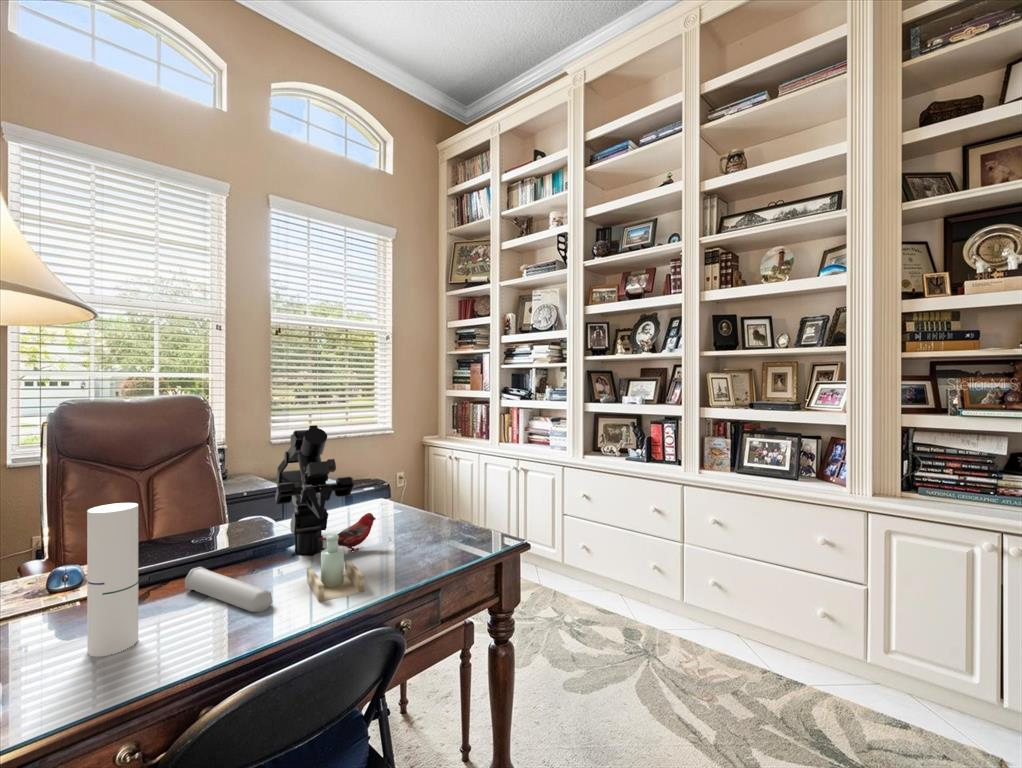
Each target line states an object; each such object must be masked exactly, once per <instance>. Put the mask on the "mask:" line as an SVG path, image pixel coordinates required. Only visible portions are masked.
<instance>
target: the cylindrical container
mask: <svg viewBox="0 0 1022 768" xmlns="http://www.w3.org/2000/svg"><path fill="white" fill-rule="evenodd" d="M86 513H87V514H86V515H87V516H86V517H87V518H86V520H87V521H86V522H87V523H86V524H87V527H86V528H87V531H86V532H87V533H86V535H87V536H86V537H87V539H86V540H87V542H86V543H87V545H86V552H87V554H86V555H87V559H86V560H87V561H86V563H87V565H86V566H87V570H86V571H87V573H86V575H87V578H86V579H87V582H86V583H87V586H86V587H87V591H86V592H87V594H86V595H87V596H86V597H87V599H86V601H87V605H86V606H87V613H86V614H87V617H86V618H87V619H86V621H87V622H86V623H87V628H86V629H87V634H86V635H87V637H86V638H87V640H86V641H87V647H86V649H87V655H88V654H89V655H88V656H91V657H95V658H96V657H97V658H98V657H107V656H112V655H115V653H116V654H119V653H121V651H122V652H123V650H124V651H126V650H128V649H130V648H132V647H133V646H135V645H136V644H137V643H138V642H139V503H136V502H119V503H110V504H103V505H99V506H94V507H91V508H89V509H87V510H86ZM137 641H138V642H137ZM136 642H137V643H136ZM135 643H136V644H135ZM134 644H135V645H134ZM131 646H132V647H131ZM129 647H130V648H129ZM127 648H128V649H127ZM125 649H126V650H125ZM118 652H119V653H118ZM111 654H112V655H111Z"/></svg>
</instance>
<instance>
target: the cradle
mask: <svg viewBox="0 0 1022 768" xmlns="http://www.w3.org/2000/svg"><path fill="white" fill-rule="evenodd" d="M306 584H307V586H308V587H309V589H310V590H311V592H312V594H313V595H314V597H315V598H316V600H317V602H318V603H322V602H326V601H330V600H334V599H340V598H344V597H348V596H352V595H355V594H360V593H364V592H365V575H364V574H363V573H362V572H361V571H360V569H359V568H358V567H357V566H356V565H355V564H354V563H353V562H352V561H351V560H350V559H345V560H344V582H343V584H342V585H340V586H337V587H333V588H325V587H324V584H323V583H322V582H321V578H319V576H318V575H317V573H316V571H315V570H314V569H313V567H311V566H310V567H307V568H306Z"/></svg>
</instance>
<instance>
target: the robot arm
mask: <svg viewBox="0 0 1022 768" xmlns="http://www.w3.org/2000/svg"><path fill="white" fill-rule="evenodd" d="M289 439H290V442H289V443H290V447H289V448H288V449H287V450H286V451H284V455H283V456H284V457H283V460H282V462H281V463H280V464H279V465H278V467H277V470H276V471H277V472H276V490H275V497H274V498H275V499H274V500H275V504H276V505H282V504H284V505H285V504H290V503H291V501H292V504H293V505H294V512H292V516H291V519H290V524H289V525H290V526H289V527H290V532H291V533H292V534H293V536H294V552H291V554H290V555H291V556H293V557H295V556H305V557H313V556H315V555H317V554H318V553H321V552H322V551H323V550H325V549H326V548H325V547H324V540H319V539H318V538H324V535H322V532H323V531H326V530H327V527H328V518H329V512H328V511H327V508H325V507H326V506H325V505H326V501H327V502H328V501H329V500H330V499H331V496H332V493H333V492H334V495H335V496H336V497H338V498H340V497H348V496H349V495H351V493H352V490H353V488H354V485H355V482H354V479H353V477H351V476H341V477H337V478H336V480H335V482H331V483H327V482H329V481H328V480H329V474H330V473H334V472H335V471H336V470H337V463H336V460H335V458H332V459H331V458H329V459H327V460H326V461H325V460H324V461H322V457H321V455H323V453H324V450H325V447H326V444H327V443H326V442H327V439H328V433H327V432H326V431H325V430H323V429H322V428H319V427H318V425H316V424H315V425H309V427H308V429H300V430H296V429H295V430H294V431H293V433H292V434H290V437H289ZM296 463H297V464H298V465H299V469H296V470H286V468H287V467H288V465H289V464H296ZM317 494H318V496H317Z"/></svg>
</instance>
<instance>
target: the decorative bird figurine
mask: <svg viewBox="0 0 1022 768" xmlns="http://www.w3.org/2000/svg"><path fill="white" fill-rule="evenodd" d="M376 519H377V518H376V517H375V516H374V514H373V513H371V512H367V513H365V514H364V515H363V516H361V517H360V519H358V521H357V522H355V523H353V524H352V525H350V526H348V527H346V528H345V529H343V530H342V531H340V532H338V533H337V535H339V539H338V547H339V546H340V547H346V548H348V549H349V550H348V551H347V553H353V552H357V551H356V550H358V551H359V550H361V549H363V548H365V547H364V546H363V547H357V546H359V545H360V544H362V543H363V542H364V541H365V540H367V538H368V537H369V535H370V533H371V530H372V527H373V525H374V521H375V520H376ZM318 539H319V540H323V541H326V542H327V540H326V536H325V537H323V538H318ZM355 547H357V548H355ZM352 551H353V552H352Z"/></svg>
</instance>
